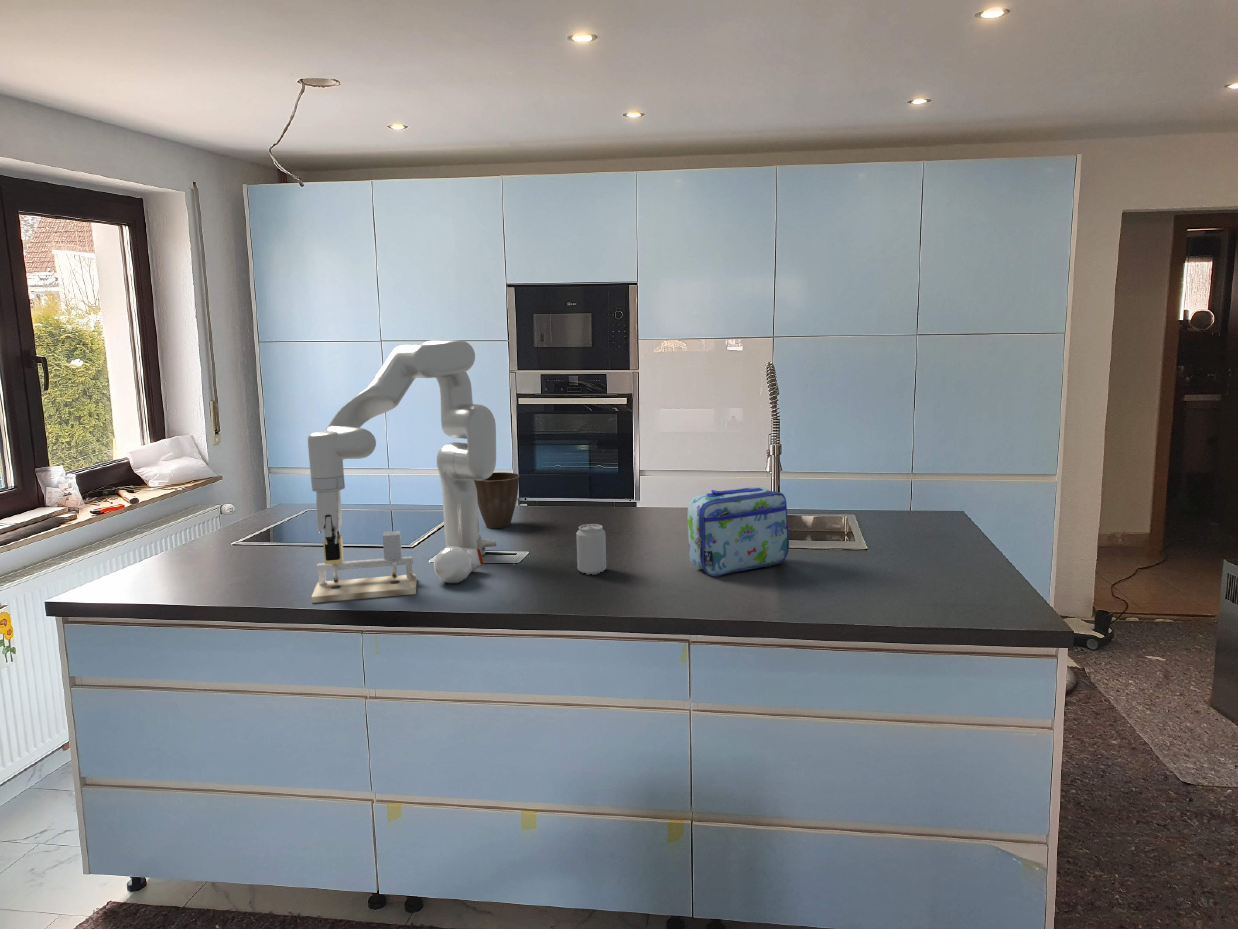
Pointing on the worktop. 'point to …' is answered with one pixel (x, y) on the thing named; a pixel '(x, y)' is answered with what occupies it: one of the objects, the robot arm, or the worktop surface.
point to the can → (591, 549)
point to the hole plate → (364, 588)
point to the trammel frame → (390, 559)
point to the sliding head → (335, 562)
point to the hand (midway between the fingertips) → (334, 556)
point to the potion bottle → (456, 563)
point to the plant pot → (497, 498)
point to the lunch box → (737, 530)
